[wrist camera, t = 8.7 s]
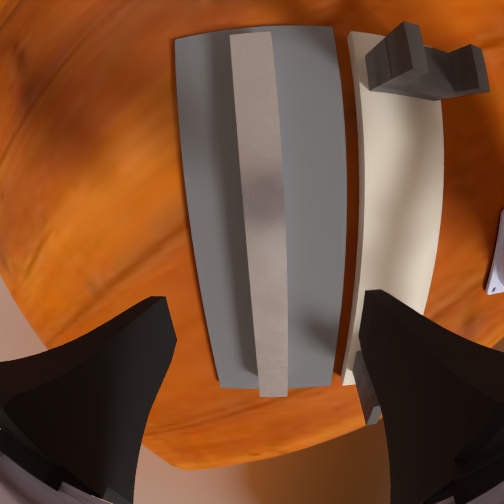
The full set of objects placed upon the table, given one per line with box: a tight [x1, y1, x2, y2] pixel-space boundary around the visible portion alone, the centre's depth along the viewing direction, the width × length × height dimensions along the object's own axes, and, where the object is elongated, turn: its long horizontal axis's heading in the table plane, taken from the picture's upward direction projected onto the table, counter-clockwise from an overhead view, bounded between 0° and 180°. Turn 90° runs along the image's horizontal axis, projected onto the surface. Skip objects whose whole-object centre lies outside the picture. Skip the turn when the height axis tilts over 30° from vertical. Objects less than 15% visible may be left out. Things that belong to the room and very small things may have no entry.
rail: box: [230, 32, 288, 397], centre depth 17 cm, size 2×25×2 cm, turn 4°
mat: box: [175, 25, 347, 389], centre depth 18 cm, size 10×28×1 cm, turn 4°
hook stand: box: [341, 22, 490, 425], centre depth 14 cm, size 6×27×7 cm, turn 4°
